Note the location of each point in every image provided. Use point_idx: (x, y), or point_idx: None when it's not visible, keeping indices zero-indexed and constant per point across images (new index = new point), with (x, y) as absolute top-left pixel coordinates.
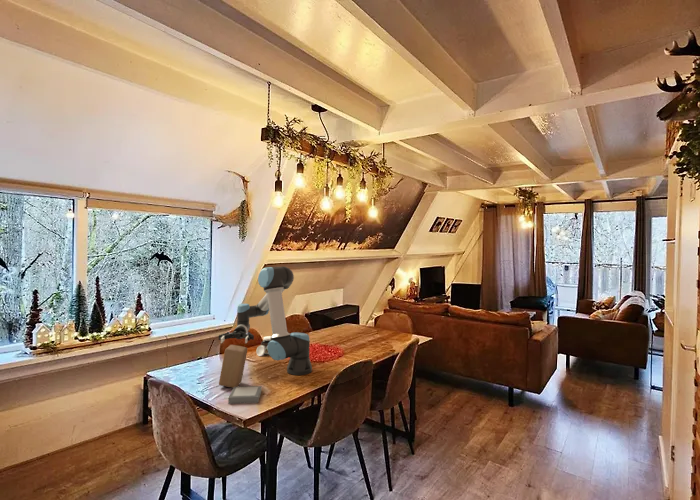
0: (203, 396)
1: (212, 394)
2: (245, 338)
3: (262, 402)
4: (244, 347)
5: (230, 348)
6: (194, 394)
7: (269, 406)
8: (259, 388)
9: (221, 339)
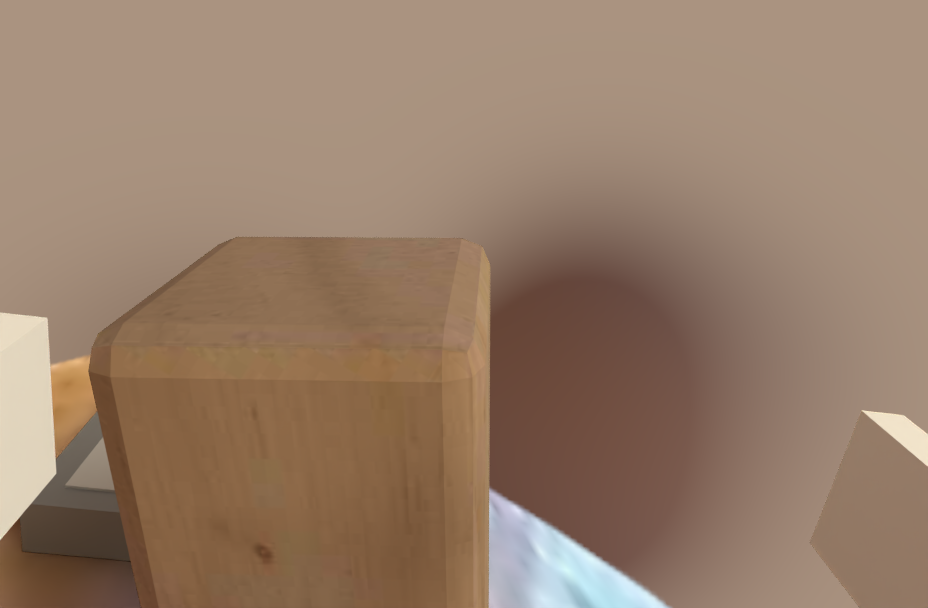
0: (548, 548)
1: (489, 569)
2: (30, 327)
3: (95, 412)
4: (163, 311)
5: (417, 246)
6: (644, 592)
7: (69, 373)
8: (64, 464)
9: (868, 437)
